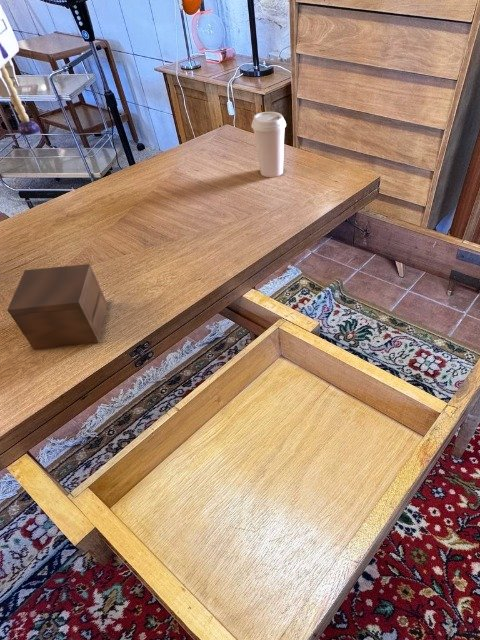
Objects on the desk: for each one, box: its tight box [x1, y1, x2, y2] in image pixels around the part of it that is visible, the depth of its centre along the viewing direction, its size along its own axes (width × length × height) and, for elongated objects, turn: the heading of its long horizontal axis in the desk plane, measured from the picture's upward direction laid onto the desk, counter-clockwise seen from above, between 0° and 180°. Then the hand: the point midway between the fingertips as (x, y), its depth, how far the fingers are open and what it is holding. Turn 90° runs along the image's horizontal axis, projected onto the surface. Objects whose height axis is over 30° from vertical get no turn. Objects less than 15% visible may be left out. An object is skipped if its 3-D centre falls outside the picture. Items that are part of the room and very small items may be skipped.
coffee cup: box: [251, 111, 287, 178], centre depth 125 cm, size 10×10×15 cm
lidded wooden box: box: [6, 263, 108, 350], centre depth 84 cm, size 12×12×10 cm
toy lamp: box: [0, 43, 41, 136], centre depth 87 cm, size 5×5×17 cm
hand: (10, 92), depth 88 cm, fingers closed on toy lamp, 4 cm apart
